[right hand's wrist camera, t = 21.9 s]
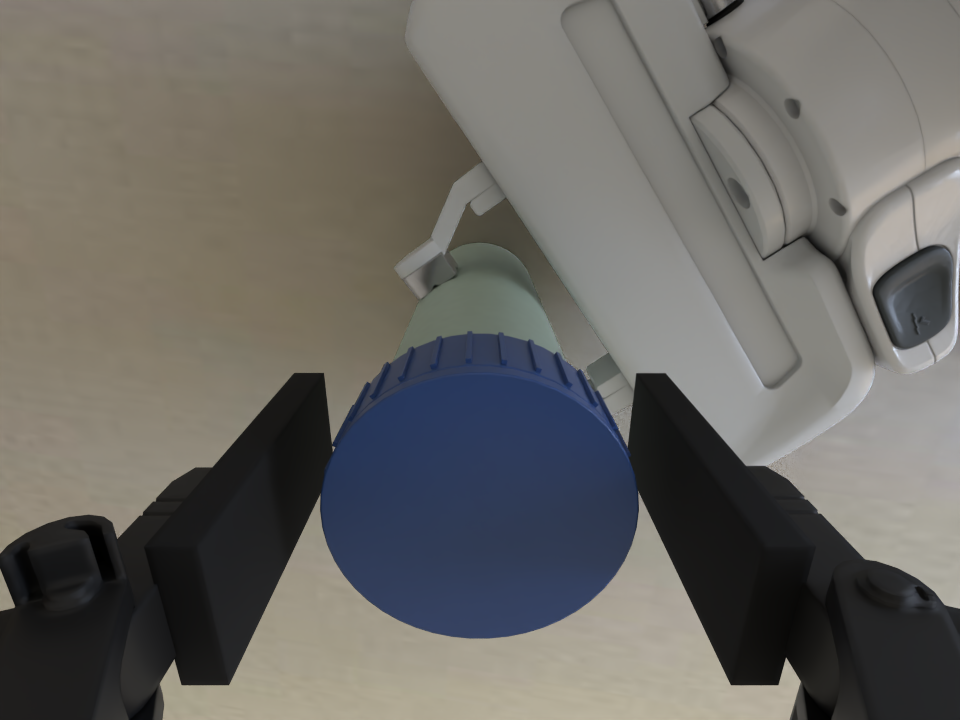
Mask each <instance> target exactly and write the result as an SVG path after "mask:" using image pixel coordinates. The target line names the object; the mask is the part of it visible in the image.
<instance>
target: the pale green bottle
mask: <svg viewBox="0 0 960 720" xmlns="http://www.w3.org/2000/svg"><path fill="white" fill-rule="evenodd" d="M450 254H451V255H452V257H453V258H454V260H455V261H456V263H457V264H458V269H457V275H455V276H454V277H453V278H451V279H450V280H448V281H447V282H445V283H443V284H441V285H434V287H433V290H432V291H431V292H430V293H429V294H428V295H427V296H426V297H424V298H422V299H421V300H419V302H418V304H417V307H416V309H415V311H414V314H413V316H412V318H411V321H410V323H409V325H408V328H407V330H406V332H405V335H404V337H403V339H402V342H401V344H400V346H399V348H398V351H397V353H396V355H395V358H394V360H393V361H395V360H396V359H397V358H399V357H400V356H401V355H403V354H405V353H407V351H408V348H410V347H412V346H413V347H414V348H416V347H418V346H421V345H423V344H426V343H428V342H431V341H433V340H436V338H437V337H438V336H442V338H445V337H449V336H455V335H463V334H467V331H472V332H473V334H496V335H498V333H499V332H502V333H504V336H510V337H514V338H518V339H522V340H526V341H528V340H529V339H531V340H533V341H534V344H536V345H538V346H541V347H543V348H545V349H547V350H549V351H550V352H552V353H554V354H555V353H556V352H558V353H560V354H561V356H562V359H563V360H565V358H564V355H563V353H562V350H561V348H560V346H559V343H558V341H557V339H556V336H555V334H554V332H553V329H552V327H551V325H550V322H549V320H548V318H547V315H546V313H545V311H544V308H543V306H542V304H541V301H540V299H539V297H538V294H537V292H536V290H535V287H534V285H533V283H532V280H531V278H530V276H529V273H528V271H527V269H526V268H525V266H524V265H523V264H522V262H521V261H520V260H519V259H518V258H517V257H516V256H515V255H514V254H512V253H511V252H509V251H508V250H506V249H504V248H502V247H500V246H497V245H494V244H489V243H470V244H466V245H462V246H459V247H457V248H455V249H453V250H452V251H450ZM565 361H566V360H565Z"/></svg>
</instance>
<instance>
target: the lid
mask: <svg viewBox="0 0 960 720" xmlns="http://www.w3.org/2000/svg"><path fill="white" fill-rule="evenodd" d="M332 446H334V447H335V449H334V451H333V453H332V455H331V457H330V459H329V461H328V463H327V465H326V467H325V470H324V473H325V474H324V478H323V484H322V489H321V502H320V512H321V520H322V528H323V531H324V535H325V538H326V542H327V545H328V547H329V550H330V552H331V554H332V556H333V558H334V561H335V562H336V564H337V565H338V567H339V568H340V570H341V572H342V573H343V575H344V576H345V577H346V578H347V580H348V581H349V582H350V583H351V584H352V586H353V587H354V588H355V589H356V590H357V591H358V592H359V593H360V594H361V595H362V596H364V597H365V598H366V599H367V600H368V601H369V602H371V603H372V604H373V605H375V606H376V607H377V608H379V609H380V610H382V611H383V612H385V613H387V614H388V615H390V616H392V617H394V618H396V619H397V620H399V621H402V622H404V623H406V624H409V625H411V626H413V627H416V628H419V629H422V630H425V631H429V632H432V633H436V634H441V635H446V636H451V637H460V638H499V637H508V636H513V635H518V634H523V633H527V632H530V631H534V630H537V629H540V628H543V627H546V626H548V625H550V624H553V623H555V622H557V621H560V620H562V619H564V618H565V617H567V616H569V615H571V614H572V613H574V612H576V611H577V610H579V609H580V608H582V607H583V606H584V605H586V604H587V603H588V602H590V601H591V600H592V599H593V598H594V597H595V596H597V595H598V594H599V593H600V592H601V591H602V590H603V589H604V588H605V587H606V586H607V584H608V583H609V582H610V581H611V580H612V578H613V577H614V576H615V575H616V573H617V572H618V570H619V568H620V567H621V565H622V564H623V562H624V561H625V558H626V556H627V554H628V552H629V550H630V547H631V545H632V542H633V538H634V535H635V531H636V528H637V520H638V512H639V502H638V489H637V484H636V478H635V474H634V471H633V469H632V466H631V463H630V460H629V458H628V457H630V456H631V454H630V452H629V450H628V448H627V446H626V444H625V442H624V440H623V438H622V436H621V434H620V432H619V430H618V427H617V425H616V423H615V421H614V419H613V417H612V415H611V413H610V411H609V409H608V408H607V406H606V404H605V402H604V400H603V398H602V396H601V394H600V392H599V391H598V390H597V391H596V392H595V391H594V390H593V389H592V387H591V386H590V385H589V383H588V381H587V379H586V377H585V375H584V373H583V371H582V370H581V369H579V370H578V371H577V370H576V369H575V368H574V367H573V366H571V365H570V364H569V363H567V362H566V361H565V360H563V359H562V356H561V354H560V353H558V352H556V353H555V354H554V353H552V352H550V351H549V350H547V349H545V348H543V347H541V346H538V345H536V344H534V341H533V340H531V339H529V340H528V341H526V340H522V339H518V338H514V337H510V336H504V333H502V332H499V333H498V335H496V334H473V332H472V331H467V334H463V335H455V336H449V337H445V338H442V336H438V337H437V338H436V340H433V341H431V342H428V343H426V344H423V345H421V346H418V347H416V348H414V347H413V346H412V347H410V348H408V351H407V353H405V354H403V355H401V356H400V357H399V358H397V359H396V360H395V361H393V362H392V363H391V364H389V363H388V362H387V363H385V364H384V366H383V368H382V370H381V372H380V373H379V374H378V375H377V376H376V377H375V378H374V379H373V381H372V382H371V383H368V382H367V383H366V384H365V385H364V387H363V389H362V391H361V393H360V395H359V397H358V399H357V401H356V403H355V405H352V407H351V409H350V411H349V413H348V415H347V417H346V419H345V421H344V423H343V424H342V426H341V428H340V430H339V432H338V434H337V436H336V438H335V440H334V442H333V444H332Z"/></svg>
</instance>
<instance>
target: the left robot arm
mask: <svg viewBox="0 0 960 720" xmlns="http://www.w3.org/2000/svg"><path fill="white" fill-rule="evenodd" d="M707 22H708V23H707ZM706 23H707V24H706ZM705 24H706V25H707V27H706V28H704V26H703V25H705ZM405 43H406V45H407V47H408V49H409V51H410V53H411V55H412V56H413V58H414V59H415V61H416V62H417V64H418V65H419V67H420V68H421V70H422V71H423V73H424V74H425V76H426V77H427V79H428V80H429V82H430V83H431V85H432V86H433V88H434V90H435V91H436V93H437V94H438V96H439V97H440V99H441V100H442V102H443V103H444V105H445V106H446V108H447V109H448V111H449V112H450V114H451V115H452V117H453V118H454V120H455V121H456V123H457V124H458V125H459V127H460V128H461V130H462V131H463V133H464V134H465V136H466V137H467V139H468V140H469V142H470V143H471V145H472V146H473V148H474V149H475V151H476V152H477V154H478V155H479V157H480V158H481V160H482V162H480V163H479V164H478V165H476V166H475V167H474V168H472V169H471V170H470V171H468V172H467V173H466V174H464V175H463V176H462V177H461V178H459V179H458V180H457V181H455V182H454V183H453V185H452V188H451V190H450V192H449V195H448V197H447V199H446V202H445V204H444V206H443V209H442V211H441V213H440V216H439V218H438V220H437V223H436V225H435V227H434V230H433V232H432V234H431V238H429V239H428V240H427V241H425V242H424V243H423V244H421V245H420V246H419V247H417V248H416V249H415V250H413V251H412V252H410V253H409V254H408V255H406V256H405V257H404V258H403V259H402V260H400V261H399V262H398V263H397V264H396V266H395V267H394V269H395V271H396V272H397V274H398V275H399V277H400V278H401V279H402V280H403V281H404V282H405V284H406V285H407V286H408V288H409V289H410V290H411V291H412V293H413V294H414V295H415V296H416V298H417V299H418V300H421V299H422V298H424V297H426V296H427V295H428V294H429V293H430V292H431V291H432V290H433V287H434V285H441V284H443V283H445V282H447V281H448V280H450V279H451V278H453V277H454V276H455V275H457V269H458V264H457V263H456V261H455V260H454V258H453V257H452V255H451V254H450V252H449V251H448V250H447V248H448V246H449V243H450V241H451V239H452V237H453V234H454V232H455V230H456V228H457V225H458V223H459V221H460V219H461V216H462V214H463V212H464V209H465V207H466V205H467V203H469V202H470V201H471V204H470V207H471V208H472V210H473V211H474V213H475V214H476V215H479V216H481V215H483V214H484V213H485V212H487V211H488V210H490V209H491V208H493V207H494V206H495V205H497V204H498V203H500V202H501V201H503V200H504V199H505V198H507V199H508V201H509V202H510V204H511V206H512V207H513V209H514V210H515V212H516V213H517V215H518V216H519V218H520V219H521V221H522V222H523V224H524V225H525V227H526V228H527V230H528V231H529V233H530V234H531V236H532V237H533V239H534V240H535V242H536V243H537V245H538V246H539V248H540V250H541V251H542V253H543V254H544V256H545V257H546V259H547V260H548V262H549V263H550V265H551V266H552V268H553V269H554V271H555V272H556V274H557V275H558V277H559V278H560V280H561V281H562V283H563V284H564V286H565V287H566V289H567V291H568V292H569V294H570V295H571V297H572V298H573V300H574V301H575V303H576V304H577V306H578V307H579V309H580V310H581V312H582V313H583V315H584V316H585V318H586V319H587V321H588V322H589V324H590V325H591V327H592V328H593V330H594V332H595V333H596V335H597V336H598V338H599V339H600V341H601V342H602V344H603V345H604V347H605V348H606V350H607V351H608V353H607V354H606V355H604V356H603V357H601V358H600V359H598V360H597V361H595V362H594V363H592V364H590V365H589V366H587V369H586V371H587V373H588V375H589V377H590V379H591V380H587V381H588V383H589V385H590V386H591V387H592V389H593V390H594V391H595V392H596V391H597V390H598V391H599V392H600V394H601V396H602V398H603V400H604V402H605V404H606V406H607V408H608V409H609V411H610V413H611V415H614V414H616V413H617V412H619V411H621V410H622V409H624V408H626V407H628V406H629V405H631V404H633V397H634V388H635V379H636V373H666V374H667V375H668V376H669V378H670V379H671V380H672V381H673V382H674V383H675V384H676V386H677V387H678V388H679V389H680V390H681V391H682V393H683V394H684V395H685V396H686V397H687V398H688V399H689V401H690V402H691V403H692V404H693V405H694V406H695V408H696V409H697V410H698V411H699V412H700V413H701V414H702V416H703V417H704V418H705V419H706V420H707V421H708V423H709V424H710V425H711V426H712V427H713V428H714V429H715V431H716V432H717V433H718V434H719V435H720V436H721V438H722V439H723V440H724V441H725V442H726V443H727V444H728V446H729V447H730V448H731V449H732V450H733V451H734V453H735V454H736V455H737V456H738V457H739V458H740V459H741V461H742V462H743V463H744V464H745V465H746V466H767V465H769V464H771V463H773V462H774V461H776V460H778V459H780V458H782V457H783V456H785V455H787V454H789V453H790V452H792V451H794V450H795V449H797V448H799V447H800V446H802V445H804V444H805V443H807V442H809V441H810V440H812V439H814V438H815V437H817V436H818V435H820V434H821V433H823V432H825V431H826V430H828V429H829V428H831V427H832V426H834V425H835V424H837V423H838V422H840V421H841V420H842V419H844V418H845V417H846V416H847V415H848V414H850V413H851V412H852V411H853V410H854V409H855V408H856V407H857V406H858V405H859V404H860V403H861V402H862V400H863V399H864V398H865V396H866V395H867V393H868V392H869V390H870V388H871V385H872V383H873V380H874V375H875V364H876V365H878V366H881V367H883V368H886V369H888V370H891V371H893V372H896V373H899V374H904V375H905V374H912V373H915V372H918V371H920V370H923V369H925V368H927V367H929V366H931V365H933V364H934V363H936V362H938V361H940V360H941V359H943V358H944V357H945V356H946V355H947V354H949V352H950V351H951V350H952V349H953V347H954V345H955V343H956V339H957V334H958V292H959V264H960V0H412V3H411V6H410V11H409V15H408V20H407V26H406V32H405Z"/></svg>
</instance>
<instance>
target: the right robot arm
mask: <svg viewBox="0 0 960 720" xmlns="http://www.w3.org/2000/svg"><path fill="white" fill-rule="evenodd" d="M628 450H629V452H630V454H631V456H630V457H628V458H629V460H630V463H631V466H632V469H633V471H634V474H635V478H636V484H637V489H638V491H639V493H640V495H641V498H642V500H643V502H644V504H645V506H646V508H647V510H648V512H649V514H650V516H651V519H652V521H653V523H654V525H655V527H656V529H657V531H658V533H659V535H660V537H661V539H662V542H663V544H664V546H665V548H666V550H667V552H668V554H669V556H670V558H671V560H672V563H673V565H674V567H675V569H676V571H677V573H678V575H679V577H680V579H681V581H682V584H683V586H684V588H685V590H686V592H687V594H688V596H689V598H690V600H691V602H692V604H693V607H694V609H695V611H696V613H697V615H698V617H699V619H700V621H701V623H702V625H703V628H704V630H705V632H706V634H707V636H708V638H709V640H710V642H711V644H712V646H713V648H714V651H715V653H716V655H717V657H718V659H719V661H720V663H721V665H722V667H723V669H724V672H725V674H726V676H727V678H728V680H729V682H730V684H731V685H779V681H780V677H781V674H782V670H783V666H784V663H785V659H786V658H787V659H788V661H789V663H790V664H791V666H792V667H793V669H794V671H795V672H796V674H797V676H798V677H799V679H800V680H801V683H800V687H799V690H798V693H797V697H796V700H795V704H794V707H793V710H792V714H791V717H790V720H960V609H958V608H954V607H949V606H945V605H944V604H943V603H942V601H941V600H940V599H939V597H938V596H937V595H936V593H935V592H934V591H933V590H931V589H930V588H929V587H927V586H926V585H925V584H924V583H922V582H921V581H920V580H918V579H917V578H915V577H913V576H911V575H909V574H907V573H905V572H904V571H902V570H900V569H898V568H895V567H892V566H889V565H886V564H883V563H880V562H877V561H870V560H865V559H864V558H863V557H862V556H861V555H860V554H859V553H858V552H857V551H856V550H855V549H854V548H853V547H852V546H851V545H850V544H849V543H848V542H847V540H846V539H845V538H844V537H843V536H842V535H841V534H840V533H839V532H838V531H837V530H836V529H835V528H834V527H833V526H832V525H831V524H830V523H829V522H828V521H827V520H826V519H825V518H824V517H823V516H822V514H818V512H817V509H816V508H815V507H814V506H813V505H812V504H811V503H810V502H809V501H808V500H805V499H804V496H803V495H802V494H801V493H800V492H799V491H798V490H797V488H796V487H795V486H794V485H793V484H792V483H791V482H790V481H789V480H788V479H786V478H784V477H783V476H781V475H779V474H778V473H776V472H774V471H773V470H771V469H769V468H768V467H766V466H746V465H745V464H744V463H743V462H742V461H741V459H740V458H739V457H738V456H737V455H736V454H735V453H734V451H733V450H732V449H731V448H730V447H729V446H728V444H727V443H726V442H725V441H724V440H723V439H722V438H721V436H720V435H719V434H718V433H717V432H716V431H715V429H714V428H713V427H712V426H711V425H710V424H709V423H708V421H707V420H706V419H705V418H704V417H703V416H702V414H701V413H700V412H699V411H698V410H697V409H696V408H695V406H694V405H693V404H692V403H691V402H690V401H689V399H688V398H687V397H686V396H685V395H684V394H683V393H682V391H681V390H680V389H679V388H678V387H677V386H676V384H675V383H674V382H673V381H672V380H671V379H670V378H669V376H668V375H667V374H666V373H636V379H635V388H634V397H633V406H632V415H631V424H630V433H629V442H628ZM332 453H333V451H332V442H331V433H330V424H329V415H328V406H327V397H326V388H325V379H324V373H294V374H293V375H292V376H291V378H290V379H289V380H288V381H287V382H286V383H285V384H284V386H283V387H282V388H281V389H280V390H279V391H278V393H277V394H276V395H275V396H274V397H273V398H272V399H271V401H270V402H269V403H268V404H267V405H266V406H265V408H264V409H263V410H262V411H261V412H260V413H259V414H258V416H257V417H256V418H255V419H254V420H253V421H252V423H251V424H250V425H249V426H248V427H247V428H246V429H245V431H244V432H243V433H242V434H241V435H240V436H239V438H238V439H237V440H236V441H235V442H234V443H233V444H232V446H231V447H230V448H229V449H228V450H227V451H226V453H225V454H224V455H223V456H222V457H221V458H220V459H219V461H218V462H217V463H216V464H215V465H214V466H213V468H194V469H192V470H191V471H189V472H187V473H186V474H184V475H182V476H181V477H179V478H177V479H176V480H174V481H172V482H171V483H170V484H169V486H168V487H167V488H166V489H165V490H164V491H163V492H162V493H161V494H160V495H159V496H158V497H157V498H156V502H152V503H151V504H150V505H149V506H148V508H147V509H146V510H145V511H144V512H143V516H139V517H138V518H137V519H136V520H135V521H134V522H133V523H132V524H131V525H130V526H129V527H128V528H127V530H126V531H125V532H124V533H123V534H122V535H121V536H120V537H119V538H118V539H117V537H116V534H115V530H114V527H113V523H112V522H111V521H109V520H108V519H106V518H105V517H102V516H94V515H83V516H74V517H68V518H64V519H61V520H58V521H54V522H51V523H47V524H45V525H43V526H41V527H39V528H36V529H34V530H32V531H30V532H28V533H26V534H24V535H23V536H21V537H20V538H18V539H17V540H15V541H14V542H12V543H11V544H9V545H8V546H7V547H6V548H5V549H4V550H3V551H2V552H1V554H0V569H1V572H2V574H3V577H4V579H5V582H6V584H7V587H8V589H9V592H10V594H11V597H12V599H13V602H14V604H15V608H13V609H8V610H4V611H0V720H162V718H163V710H164V701H163V694H162V690H161V687H160V682H161V680H162V678H163V677H164V675H165V674H166V672H167V670H168V669H169V667H170V665H171V664H172V662H173V660H174V659H175V663H176V666H177V670H178V674H179V677H180V681H181V685H229V684H230V682H231V680H232V678H233V676H234V674H235V672H236V669H237V667H238V665H239V663H240V661H241V659H242V657H243V655H244V653H245V651H246V648H247V646H248V644H249V642H250V640H251V638H252V636H253V634H254V632H255V630H256V628H257V625H258V623H259V621H260V619H261V617H262V615H263V613H264V611H265V609H266V607H267V604H268V602H269V600H270V598H271V596H272V594H273V592H274V590H275V588H276V586H277V584H278V581H279V579H280V577H281V575H282V573H283V571H284V569H285V567H286V565H287V563H288V560H289V558H290V556H291V554H292V552H293V550H294V548H295V546H296V544H297V542H298V539H299V537H300V535H301V533H302V531H303V529H304V527H305V525H306V523H307V521H308V519H309V516H310V514H311V512H312V510H313V508H314V506H315V504H316V502H317V500H318V498H319V495H320V493H321V489H322V484H323V478H324V474H325V473H324V470H325V467H326V465H327V463H328V461H329V459H330V457H331V455H332Z"/></svg>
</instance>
